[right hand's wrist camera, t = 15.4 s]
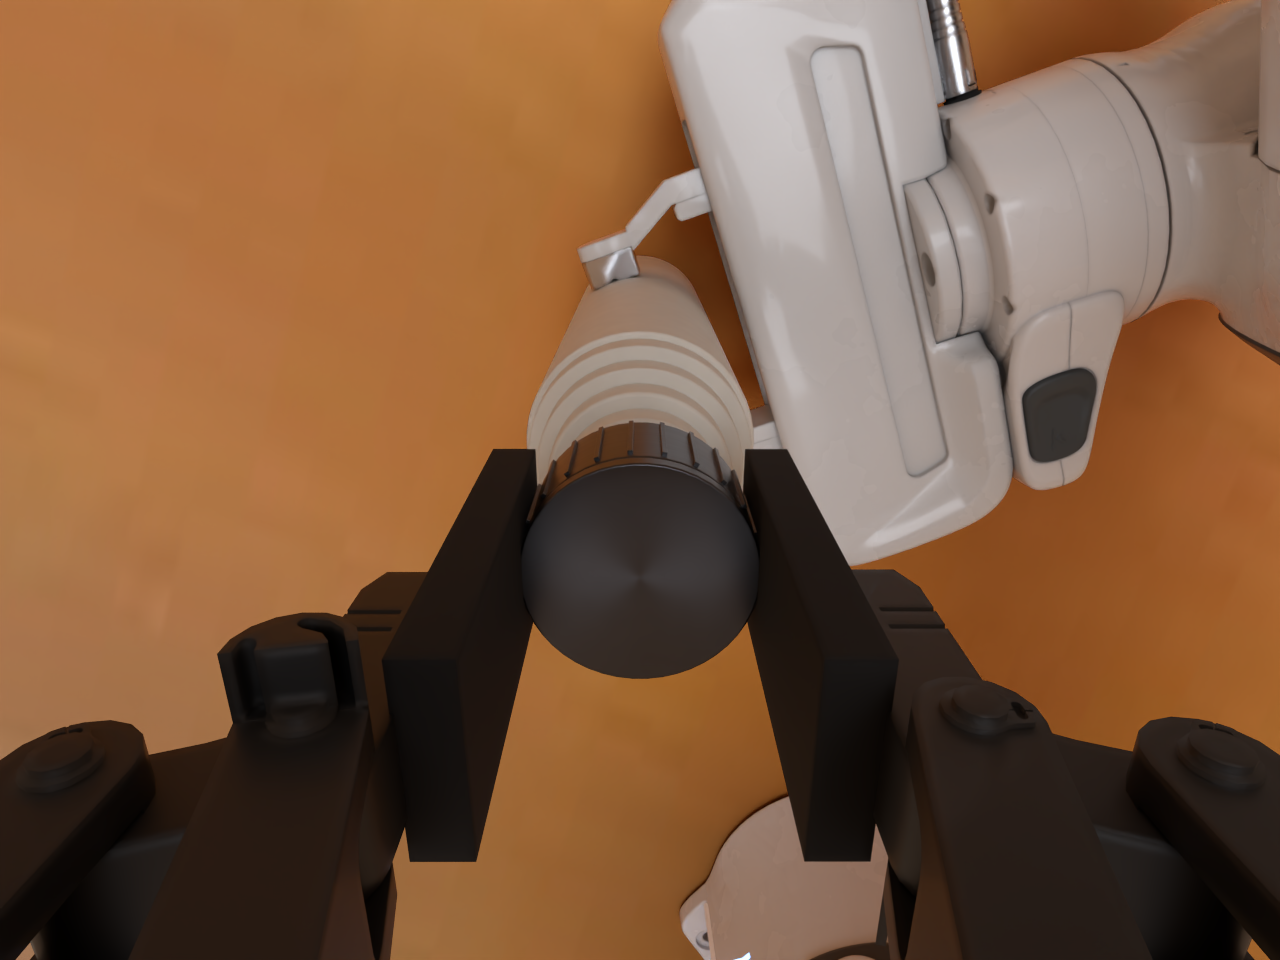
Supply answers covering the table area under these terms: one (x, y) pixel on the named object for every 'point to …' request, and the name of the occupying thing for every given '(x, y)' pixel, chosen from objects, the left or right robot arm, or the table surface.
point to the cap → (640, 552)
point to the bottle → (640, 370)
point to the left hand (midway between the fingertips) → (617, 359)
